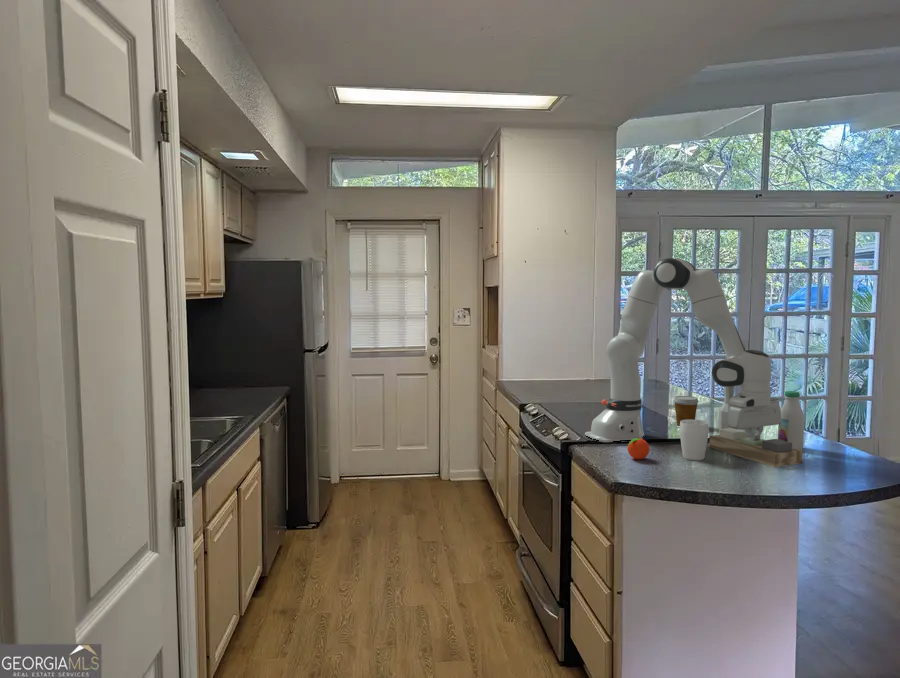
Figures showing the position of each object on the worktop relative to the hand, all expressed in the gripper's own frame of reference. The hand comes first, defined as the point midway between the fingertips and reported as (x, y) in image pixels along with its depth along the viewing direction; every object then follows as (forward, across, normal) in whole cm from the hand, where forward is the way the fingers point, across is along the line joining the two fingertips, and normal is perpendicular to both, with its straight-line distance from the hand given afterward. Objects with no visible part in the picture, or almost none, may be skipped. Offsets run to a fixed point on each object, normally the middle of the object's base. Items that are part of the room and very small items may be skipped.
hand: (754, 439), depth 207 cm
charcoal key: (+3, 0, +9) cm, 9 cm away
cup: (+5, +21, -5) cm, 22 cm away
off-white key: (+3, 0, -9) cm, 10 cm away
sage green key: (+4, 0, 0) cm, 4 cm away
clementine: (+5, +39, -11) cm, 41 cm away
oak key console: (+5, 0, 0) cm, 5 cm away
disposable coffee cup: (+5, -9, -42) cm, 43 cm away
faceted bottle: (+5, -7, -18) cm, 20 cm away
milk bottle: (+5, -18, -1) cm, 19 cm away
